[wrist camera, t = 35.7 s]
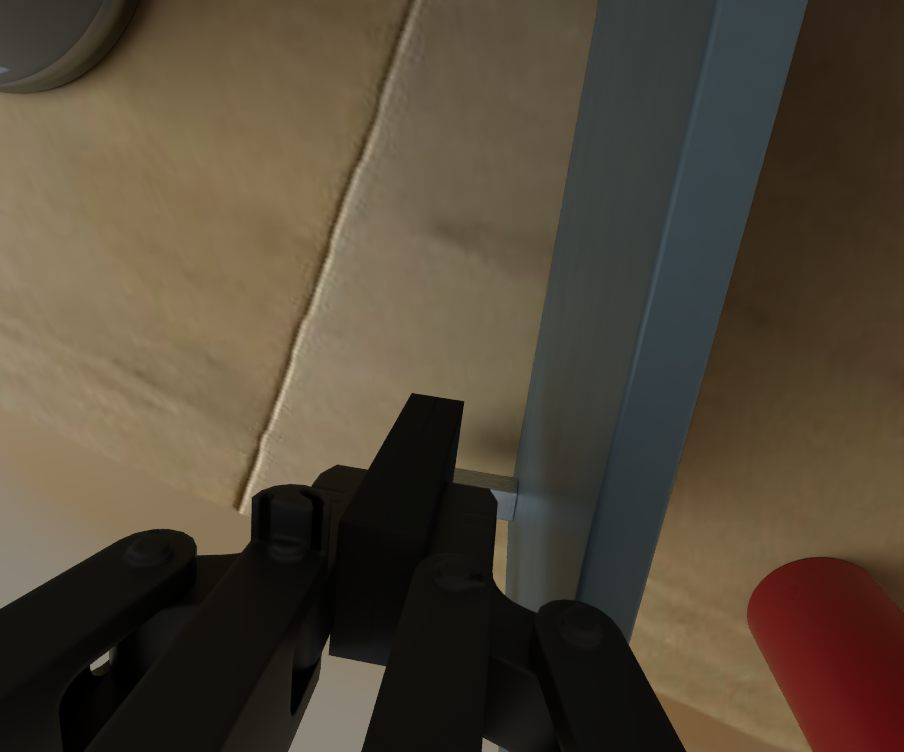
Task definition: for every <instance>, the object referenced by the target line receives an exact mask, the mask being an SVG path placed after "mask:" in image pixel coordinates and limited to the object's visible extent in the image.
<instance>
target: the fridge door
mask: <svg viewBox="0 0 904 752" xmlns="http://www.w3.org/2000/svg"><path fill="white" fill-rule="evenodd" d="M807 4H808V0H599V2H598V7H597V13H596V18H595V24H594V30H593V35H592V41H591V46H590V52H589V57H588V63H587V69H586V74H585V80H584V85H583V91H582V96H581V102H580V108H579V113H578V119H577V124H576V130H575V136H574V141H573V147H572V152H571V158H570V163H569V169H568V175H567V180H566V186H565V191H564V197H563V202H562V208H561V214H560V219H559V225H558V230H557V236H556V242H555V247H554V253H553V258H552V264H551V269H550V275H549V281H548V286H547V292H546V297H545V303H544V308H543V314H542V320H541V325H540V331H539V336H538V342H537V347H536V353H535V359H534V364H533V370H532V375H531V381H530V387H529V392H528V398H527V403H526V409H525V414H524V420H523V426H522V431H521V437H520V442H519V448H518V453H517V459H516V465H515V470H514V476H513V477H507V476H501V475H495V474H489V473H483V472H477V471H471V470H465V469H459V468H455V471H454V478H453V483H459V484H465V485H471V486H477V487H483V488H489V489H490V490H491V492H492V493H493V495H494V496H495V498H496V500H497V501H498V508H497V519H501V520H507V521H508V543H507V566H506V589H505V596H506V597H508V598H509V599H510V600H512V601H513V602H515V603H517V604H519V605H521V606H523V607H525V608H527V609H529V610H532V611H534V612H536V613H537V612H538V610H539V609H540V607H541V606H543V605H545V604H546V603H548V602H550V601H554V600H562V599H568V600H574V601H581V602H584V603H586V604H589V605H591V606H593V607H596V608H598V609H599V610H601V611H602V612H603V613H605V614H606V615H608V616H609V617H610V618H611V619H612V620H613V621H614V622H615V624H616V625H617V626H618V627H619V629H620V630H621V632H622V634H623V635H624V637H625V639H626V641H627V643H628V645H629V642H630V639H631V635H632V631H633V628H634V624H635V621H636V617H637V614H638V610H639V606H640V603H641V599H642V596H643V592H644V588H645V585H646V581H647V578H648V574H649V570H650V567H651V563H652V560H653V556H654V553H655V549H656V545H657V542H658V538H659V535H660V531H661V527H662V524H663V520H664V517H665V513H666V509H667V506H668V502H669V499H670V495H671V492H672V488H673V484H674V481H675V477H676V474H677V470H678V466H679V463H680V459H681V456H682V452H683V448H684V445H685V441H686V438H687V434H688V431H689V427H690V423H691V420H692V416H693V413H694V409H695V405H696V402H697V398H698V395H699V391H700V387H701V384H702V380H703V377H704V373H705V370H706V366H707V362H708V359H709V355H710V352H711V348H712V344H713V341H714V337H715V334H716V330H717V326H718V323H719V319H720V316H721V312H722V309H723V305H724V301H725V298H726V294H727V291H728V287H729V283H730V280H731V276H732V273H733V269H734V265H735V262H736V258H737V255H738V251H739V248H740V244H741V240H742V237H743V233H744V230H745V226H746V222H747V219H748V215H749V212H750V208H751V204H752V201H753V197H754V194H755V190H756V187H757V183H758V179H759V176H760V172H761V169H762V165H763V161H764V158H765V154H766V151H767V147H768V143H769V140H770V136H771V133H772V129H773V126H774V122H775V118H776V115H777V111H778V108H779V104H780V100H781V97H782V93H783V90H784V86H785V82H786V79H787V75H788V72H789V68H790V65H791V61H792V57H793V54H794V50H795V47H796V43H797V39H798V36H799V32H800V29H801V25H802V21H803V18H804V14H805V11H806V7H807ZM499 752H508V751H507V750H506V749H504V748H502V747H500V746H499Z"/></svg>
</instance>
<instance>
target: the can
mask: <svg viewBox="0 0 904 752" xmlns="http://www.w3.org/2000/svg"><path fill="white" fill-rule="evenodd" d="M747 619H748V625H749V628H750V631H751V633H752V635H753V637H754V639H755V641H756V643H757V645H758V647H759V649H760V651H761V652H762V654H763V656H764V658H765V660H766V662H767V664H768V666H769V668H770V670H771V672H772V674H773V676H774V678H775V680H776V681H777V683H778V685H779V687H780V689H781V691H782V693H783V695H784V697H785V699H786V701H787V703H788V705H789V707H790V709H791V710H792V712H793V714H794V716H795V718H796V720H797V722H798V724H799V726H800V728H801V730H802V732H803V734H804V736H805V737H806V739H807V741H808V743H809V745H810V747H811V749H812V751H813V752H904V613H903V612H902V610H901V609H900V608H899V607H898V606H897V605H896V604H895V603H894V602H893V600H892V599H891V598H890V597H889V596H888V595H887V594H886V593H885V592H884V591H883V589H882V588H881V587H880V586H879V585H878V584H877V583H876V582H875V581H874V579H873V578H872V577H871V576H870V575H868V574H867V573H866V572H865V571H863V570H862V569H860V568H859V567H857V566H855V565H853V564H851V563H848V562H845V561H841V560H837V559H830V558H811V559H804V560H800V561H796V562H793V563H790V564H787V565H785V566H783V567H781V568H779V569H777V570H775V571H774V572H772V573H771V574H770V575H768V576H767V577H766V578H765V579H764V580H763V581H762V582H761V583H760V584H759V585H758V586H757V588H756V589H755V591H754V593H753V594H752V596H751V599H750V601H749V605H748V611H747Z"/></svg>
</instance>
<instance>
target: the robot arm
mask: <svg viewBox="0 0 904 752" xmlns="http://www.w3.org/2000/svg"><path fill="white" fill-rule="evenodd" d="M137 3H138V0H0V92H5V93H31V92H39V91H44V90H48V89H52V88H55V87H58V86H60V85H63V84H65V83H68V82H70V81H72V80H74V79H75V78H77V77H79V76H81V75H82V74H84V73H85V72H87V71H88V70H89V69H91V68H92V67H93V66H95V65H96V64H97V63H98V62H99V61H100V60H101V59H102V58H103V57H104V56H105V55H106V54H107V53H108V52H109V50H110V49H111V48H112V47H113V46H114V45H115V43H116V42H117V40H118V39H119V37H120V36H121V34H122V33H123V31H124V30H125V28H126V26H127V24H128V22H129V21H130V19H131V17H132V15H133V13H134V10H135V8H136V5H137ZM463 407H464V401H459V400H452V399H446V398H440V397H434V396H427V395H421V394H415V393H412V394H411V395H410V397H409V399H408V401H407V403H406V404H405V406H404V408H403V410H402V411H401V413H400V415H399V417H398V418H397V420H396V422H395V424H394V425H393V427H392V429H391V431H390V432H389V434H388V436H387V438H386V439H385V441H384V443H383V445H382V446H381V448H380V450H379V452H378V453H377V455H376V457H375V459H374V460H373V462H372V464H371V466H370V467H369V469H368V470H366V469H360V468H354V467H348V466H343V465H336V466H334V467H332V468H330V469H328V470H326V471H324V472H323V473H321V474H320V475H319V476H318V478H317V479H316V481H315V482H314V483H313V485H312V487H310V486H307V485H296V484H287V485H278V486H273V487H270V488H267V489H264V490H261V491H260V492H259V493H257V494H256V495H254V496H253V497H252V516H251V541H250V543H249V544H248V545H247V546H246V548H245V549H244V550H243V551H242V552H241V553H236V554H226V555H198V556H197V546H196V544H195V542H194V539H193V538H192V537H190V536H189V535H187V534H185V533H184V532H180V531H175V530H171V529H153V530H148V531H143V532H138V533H134V534H132V535H130V536H128V537H125V538H123V539H120V540H119V541H117V542H115V543H113V544H112V545H110V546H108V547H106V548H105V549H103V550H101V551H100V552H98V553H96V554H94V555H93V556H91V557H89V558H88V559H86V560H84V561H82V562H81V563H79V564H77V565H75V566H74V567H72V568H70V569H69V570H67V571H65V572H63V573H62V574H60V575H58V576H56V577H55V578H53V579H51V580H50V581H48V582H46V583H44V584H43V585H41V586H39V587H37V588H36V589H34V590H32V591H31V592H29V593H27V594H25V595H24V596H22V597H20V598H18V599H17V600H15V601H13V602H12V603H10V604H8V605H6V606H5V607H3V608H1V609H0V752H288V750H289V748H290V746H291V743H292V741H293V739H294V736H295V734H296V732H297V729H298V727H299V724H300V722H301V720H302V717H303V715H304V712H305V710H306V708H307V706H308V703H309V701H310V699H311V696H312V694H313V692H314V689H315V687H316V684H317V682H318V680H319V674H320V669H321V656H322V651H323V649H324V646H325V644H326V641H327V639H328V637H329V635H330V645H329V655H331V656H336V657H341V658H347V659H352V660H356V661H362V662H366V663H372V664H377V665H382V666H386V669H385V673H384V676H383V679H382V683H381V686H380V689H379V693H378V696H377V700H376V703H375V706H374V710H373V713H372V717H371V720H370V724H369V727H368V730H367V734H366V737H365V741H364V744H363V748H362V751H361V752H482V739H483V738H485V739H487V740H489V741H491V742H493V743H494V744H496V745H498V746H500V747H502V748H504V749H506V750H507V751H508V752H686V750H685V748H684V746H683V745H682V743H681V741H680V739H679V737H678V735H677V734H676V732H675V730H674V728H673V726H672V724H671V722H670V721H669V719H668V717H667V715H666V713H665V711H664V710H663V708H662V706H661V704H660V702H659V700H658V698H657V697H656V695H655V693H654V691H653V689H652V687H651V685H650V684H649V682H648V680H647V678H646V676H645V674H644V672H643V671H642V669H641V667H640V665H639V663H638V661H637V660H636V658H635V656H634V654H633V652H632V650H631V648H630V647H629V645H628V643H627V641H626V639H625V637H624V635H623V634H622V632H621V630H620V629H619V627H618V626H617V625H616V624H615V622H614V621H613V620H612V619H611V618H610V617H609V616H608V615H606V614H605V613H603V612H602V611H601V610H599V609H598V608H596V607H593V606H591V605H589V604H586V603H584V602H581V601H574V600H568V599H562V600H554V601H550V602H548V603H546V604H545V605H543V606H541V607H540V609H539V610H538V612H537V613H536V612H534V611H532V610H529V609H527V608H525V607H523V606H521V605H519V604H517V603H515V602H513V601H512V600H510V599H509V598H508V597H506V596H505V595H504V594H503V593H502V592H501V591H500V590H499V588H498V587H497V586H496V583H495V581H494V579H493V572H492V570H493V557H494V545H495V533H496V520H497V508H498V501H497V500H496V498H495V496H494V495H493V493H492V492H491V490H490V489H489V488H483V487H477V486H471V485H465V484H459V483H453V478H454V471H455V464H456V457H457V450H458V442H459V435H460V428H461V421H462V414H463ZM107 651H109V660H108V661H107V662H106V663H104V664H103V665H102V666H100V667H98V668H96V669H95V670H93V671H91V670H90V664H92V663H93V662H94V661H95V660H97V659H98V658H99V657H101V656H102V655H103V654H105V653H106V652H107Z"/></svg>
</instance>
